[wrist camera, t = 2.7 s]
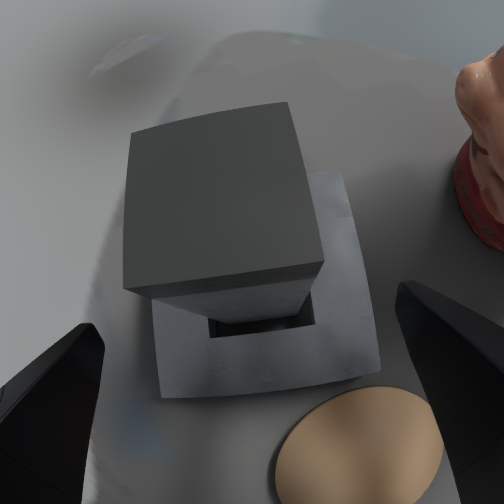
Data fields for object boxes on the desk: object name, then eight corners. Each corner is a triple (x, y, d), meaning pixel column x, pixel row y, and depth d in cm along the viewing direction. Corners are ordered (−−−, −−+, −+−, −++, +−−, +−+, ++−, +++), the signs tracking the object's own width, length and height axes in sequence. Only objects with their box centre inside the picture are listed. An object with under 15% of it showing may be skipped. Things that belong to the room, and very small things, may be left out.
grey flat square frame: (371, 368, 16) (381, 371, 14) (173, 392, 17) (161, 398, 15) (335, 184, 19) (339, 169, 18) (161, 212, 20) (149, 199, 18)
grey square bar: (296, 315, 17) (324, 260, 5) (229, 324, 18) (123, 288, 6) (286, 250, 19) (287, 101, 7) (222, 259, 19) (131, 133, 7)
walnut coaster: (324, 549, 12) (325, 553, 12) (241, 446, 15) (240, 449, 15) (458, 464, 13) (462, 467, 12) (397, 350, 16) (400, 350, 16)
